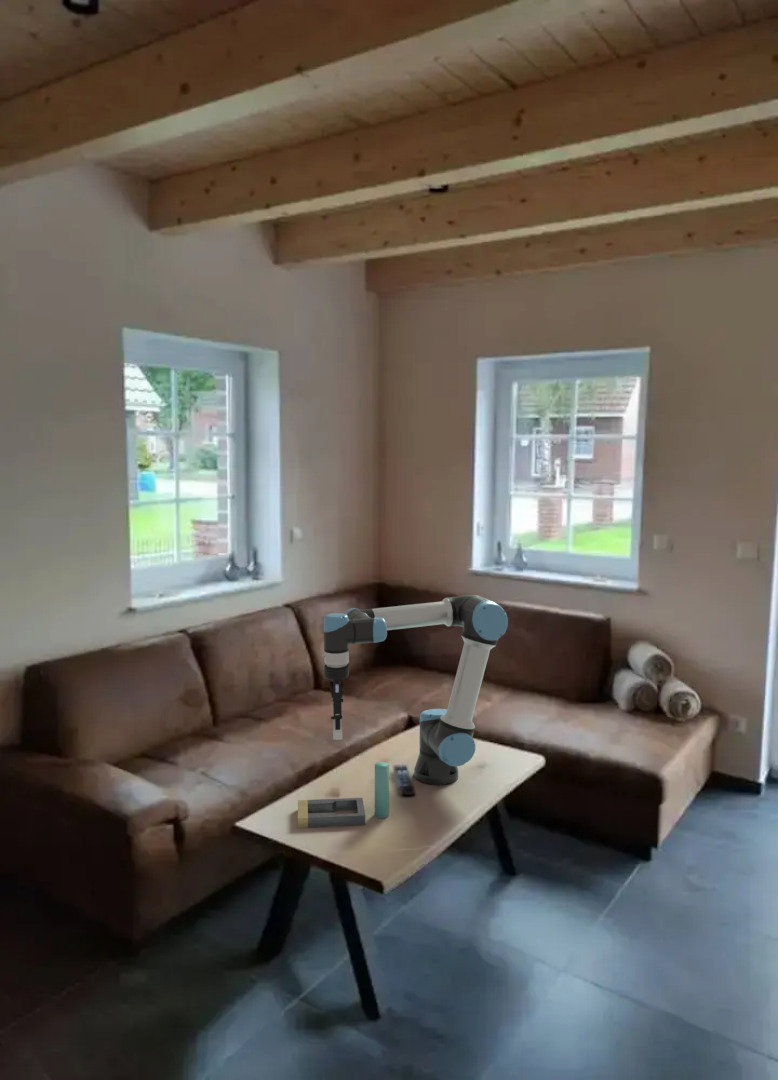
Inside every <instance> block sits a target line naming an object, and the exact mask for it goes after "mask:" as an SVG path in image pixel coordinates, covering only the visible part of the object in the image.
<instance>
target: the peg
mask: <svg viewBox="0 0 778 1080" xmlns="http://www.w3.org/2000/svg"><path fill="white" fill-rule="evenodd" d="M389 816H390V764H389V763H388V762H385V761H379V762H375V764H374V817H375V818H377V819H386V818H388V817H389Z"/></svg>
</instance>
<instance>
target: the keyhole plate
mask: <svg viewBox="0 0 778 1080" xmlns="http://www.w3.org/2000/svg"><path fill="white" fill-rule="evenodd" d="M363 800H364V799H363V797H351V798H350V797H348V798H347V797H345V798H325V799H323V798H322V799H321V798H320V799H302V800H301V799H300V800H297V829H301V828H302V829H304V828H305V829H306V828H328V827H329V828H330V827H350V826H366V810H365V805H364V801H363ZM347 810H348V811H349V810H356V813H355V812H354V813H339V814H338V813H335V811H347Z"/></svg>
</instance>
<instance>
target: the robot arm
mask: <svg viewBox="0 0 778 1080" xmlns="http://www.w3.org/2000/svg"><path fill="white" fill-rule="evenodd" d="M437 625H445V626H446V627H460V628H462V631H461V638H462V640H463V646H462V650H461V655H460V660H459V663H458V666H457V670H456V674H455V678H454V680H453V681H454V682H453V685H452V690H451V692H450V693H451V694H450V698H449V701H448V706H447V709H446V708H430V709H426V710H424V711H422V712H421V713H420V715H419V716H420V717H419V752H418V753H419V754H418V757H417V760H416V763H415V766H414V768H413V775H414V779H416V780H417V781H419V782H421V783H424V784H428V785H435V786H436V785H438V786H439V785H447V784H451V783H454V782H455V781H457V780H458V778H459V768H458V767H461V766H463V765H465V764H466V763H468V762H470V761H471V760H472V758H473V757H474V755H475V753H476V742H475V740H474V738H473V737H474V733H475V728H476V725H475V724H474V721H473V717H474V714H475V709H476V705H477V702H478V698H479V694H480V691H481V686H482V683H483V679H484V676H485V675H484V674H485V671H486V667H487V663H488V660H489V656H490V651H491V650H492V649H493V648H496V647H497V644H498V641H499V639H500V638H501V637H502V636H504V635H505V634H506V631H507V629H508V625H509V618H508V615H507V612H506V610H505V609H504V608H503V607H502V606H501V605H500V604H498V603H497V602H495V601H492V600H489V599H488V598H486V597H483V596H481V595H476V594H467V595H461V596H451V597H445V598H443V599H442V600H441V601H434V602H425V603H414V604H405V605H397V606H386V607H385V606H384V607H376V608H367V609H360V608H357V607H352V608H349V609H348V610H346V611H345V612H344V613H341V612H340V613H339V612H331V613H328V614H326V615H325V616H324V618H323V629H322V631H323V653H322V655H321V657H323V662H324V667H323V669H324V670H323V671H324V673H323V674H324V675H323V676H324V677H325V678H326V679H328V680H332V681H330V685H329V687H330V690H331V691H330V692H331V694H330V695H331V699H332V702H333V703H332V716H330V719H331V720H332V727H333V728H332V730H333V735H332V736H333V737H332V738H333V740H338V741H339V740H343V715H342V713H343V712H342V711H343V710H342V703H344V698H343V697H344V695H343V693H344V692H343V690H344V681H342V680H344V679H347V678H348V677H349V676H350V665H349V663H350V657H349V656H350V655H349V654H350V653H349V652H350V651H349V647H350V646H349V645H356V644H357V645H358V644H359V645H360V644H371V643H372V644H373V643H374V644H375V643H381V642H385V640H386V639H387V636H388V631H392V630H402V629H403V630H404V629H411V628H419V627H420V628H421V627H428V626H437Z"/></svg>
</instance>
